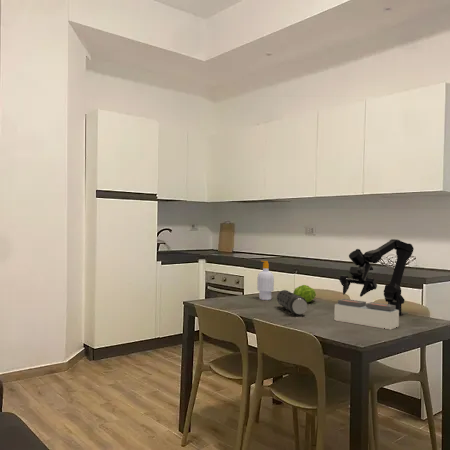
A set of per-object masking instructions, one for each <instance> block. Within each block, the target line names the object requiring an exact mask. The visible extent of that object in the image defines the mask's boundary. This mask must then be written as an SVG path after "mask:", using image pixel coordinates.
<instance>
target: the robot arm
mask: <svg viewBox="0 0 450 450" xmlns="http://www.w3.org/2000/svg"><path fill="white" fill-rule="evenodd" d="M393 250H395V254H396V258H397V259H396V262H395V265H394V269H393V273H392V276H391V280H390V283H389V284H385V285H384V290H383V296H384V300H385V302H386V303H387V304H390V305H396V310H399V316H403V315H404V314H403V313H402V304H405V302H406V301H405V298H404V297H403V295H402V287H401V282H402V278H403V276H404V273H405V272H404V271H405V269H406V264H407V261H408V260H409V259H410V258H411V257H412V255H413V253H414V246H413V244H412V243H407V242H404V241H402V240H400V239H395V238H394V239H393V238H391V239H389V241H387V242H386V243H384V244H382V245H381V246H379V247H378V248H376V249H372V250H368V251H365V252H364V254H363V252H362V251H361V249H360V248H356V249H355V250H353V251H351V252H350V253H349V254H348V257H349V258H348V259H350V260H351V262H352V263H353V264H354V266H349V272H348V273H349V274H350V275H351V276H350V277H351V278H349V276H348V275H342V274H341V275H339V277H338V280H339V282H340V284H341V285H342V294H343V295H346V293H347V292H348V290H349V289H350V285H351V284H356V285H363V287H362V289H361V292H360V294H359V297H360V298H361V297H363V296H364V295H365V294H368V293H369V292H370V291H373V290H376V289H377V288H378V284H377V281H376V279H375V278H373V277H369V276H368V274H369V272H370V271H374V267H373V265H372V264H377V263H379V262H380V261H381V259H382V257H383V256H385V255H386V254H388V253H390V252H391V251H393ZM357 266H358V267H357Z"/></svg>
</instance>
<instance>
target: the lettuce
mask: <svg viewBox="0 0 450 450" xmlns="http://www.w3.org/2000/svg"><path fill="white" fill-rule="evenodd" d="M292 293H293V294H295V295H297V296H301V297H303V298H304V299H305V300H306V302H307V303H310V302H312V301H314V299H315V297H316V296H317V294H316V291H315V289H314V288H313V287H310V286H309V285H307V284H303V285H300V286H298V287H296V288H294V290H293V292H292Z"/></svg>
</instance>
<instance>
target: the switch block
mask: <svg viewBox="0 0 450 450" xmlns="http://www.w3.org/2000/svg"><path fill="white" fill-rule="evenodd" d="M333 318H334V321H337V322H343V323H347V324H348V323H349V324H355V325H362V326H366V327H372V328H373V327H374V328H377V329H384V328H385V330H390V331H391V330H394V329H396V327H397V328H399V325H400V315H399V310H396V309H394V310H391V311H389V310H381V309H374V308H367V307H366V305H365V306H362V307H358V306H350V305H343V304H338V303H335V304H334V317H333Z"/></svg>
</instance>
